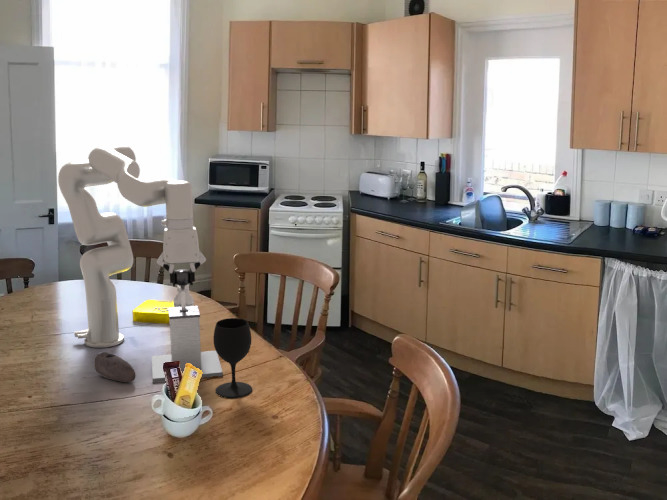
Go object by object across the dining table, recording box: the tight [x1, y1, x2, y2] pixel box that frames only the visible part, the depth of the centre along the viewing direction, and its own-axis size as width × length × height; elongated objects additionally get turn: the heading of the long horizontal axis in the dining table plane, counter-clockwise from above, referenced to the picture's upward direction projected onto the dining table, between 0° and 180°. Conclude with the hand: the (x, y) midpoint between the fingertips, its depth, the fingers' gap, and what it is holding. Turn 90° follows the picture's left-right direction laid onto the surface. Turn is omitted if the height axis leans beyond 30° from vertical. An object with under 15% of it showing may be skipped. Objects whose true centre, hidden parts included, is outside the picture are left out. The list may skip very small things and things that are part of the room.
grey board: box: [151, 350, 223, 383], centre depth 223 cm, size 20×18×1 cm
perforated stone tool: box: [94, 351, 137, 384], centre depth 213 cm, size 15×5×7 cm, turn 56°
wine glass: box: [213, 317, 253, 399], centre depth 204 cm, size 10×10×20 cm
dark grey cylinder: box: [174, 268, 190, 312], centre depth 218 cm, size 4×4×20 cm
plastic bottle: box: [172, 284, 195, 307], centre depth 240 cm, size 6×7×20 cm
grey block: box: [168, 305, 202, 370], centre depth 222 cm, size 9×12×17 cm
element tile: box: [132, 299, 174, 325], centre depth 269 cm, size 15×15×5 cm
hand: (182, 284), depth 217 cm, fingers closed on dark grey cylinder, 4 cm apart
